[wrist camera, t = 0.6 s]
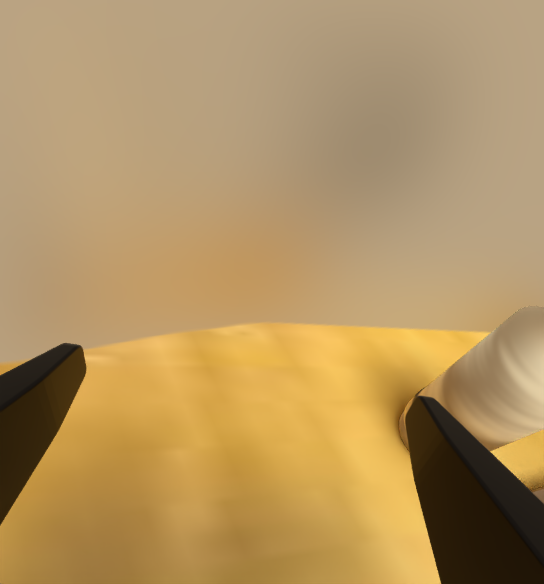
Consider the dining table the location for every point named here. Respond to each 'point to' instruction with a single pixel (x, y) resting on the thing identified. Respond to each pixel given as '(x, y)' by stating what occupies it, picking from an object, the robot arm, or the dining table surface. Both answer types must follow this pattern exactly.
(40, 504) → the dining table surface
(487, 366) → the peg
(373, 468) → the dining table surface
